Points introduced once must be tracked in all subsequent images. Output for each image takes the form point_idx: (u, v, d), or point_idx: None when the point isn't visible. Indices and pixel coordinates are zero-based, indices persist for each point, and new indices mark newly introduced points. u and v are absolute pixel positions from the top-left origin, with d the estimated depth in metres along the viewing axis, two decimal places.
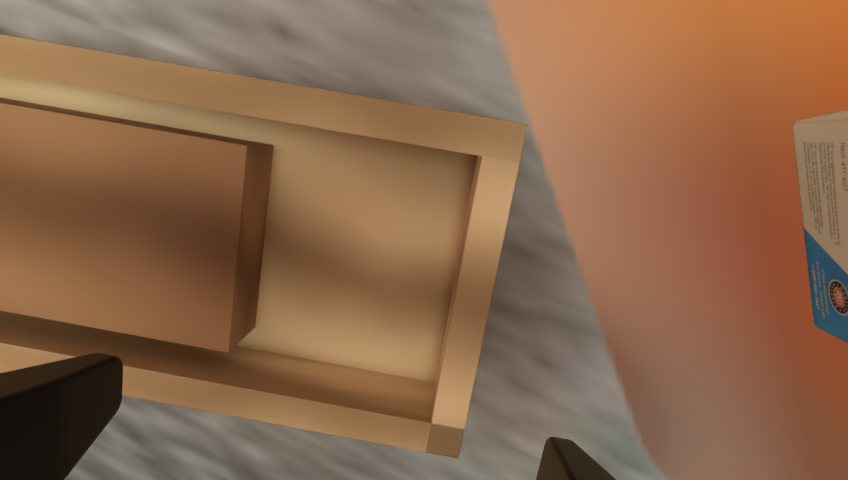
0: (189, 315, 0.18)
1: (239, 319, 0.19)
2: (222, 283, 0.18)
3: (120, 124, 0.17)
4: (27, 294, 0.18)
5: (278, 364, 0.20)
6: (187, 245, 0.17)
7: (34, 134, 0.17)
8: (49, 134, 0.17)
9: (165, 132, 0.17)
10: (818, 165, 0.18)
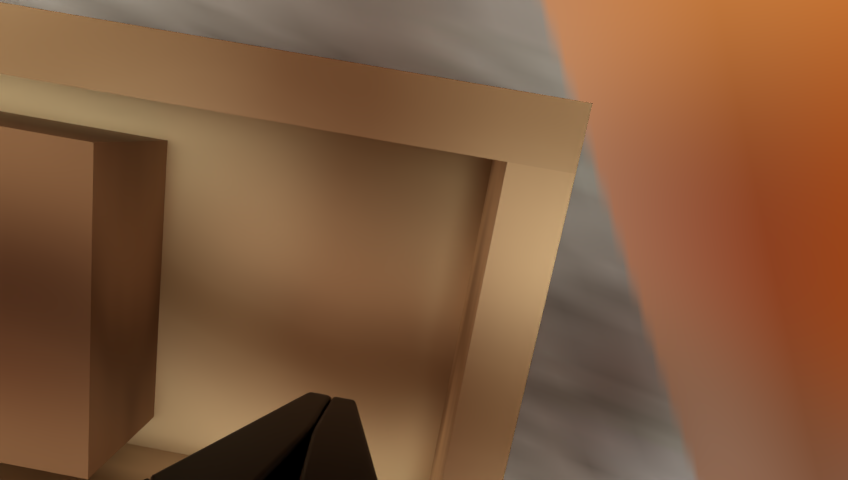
0: (21, 421, 0.11)
1: (111, 420, 0.12)
2: (69, 372, 0.11)
3: None
4: None
5: None
6: (7, 310, 0.10)
7: None
8: None
9: None
10: None
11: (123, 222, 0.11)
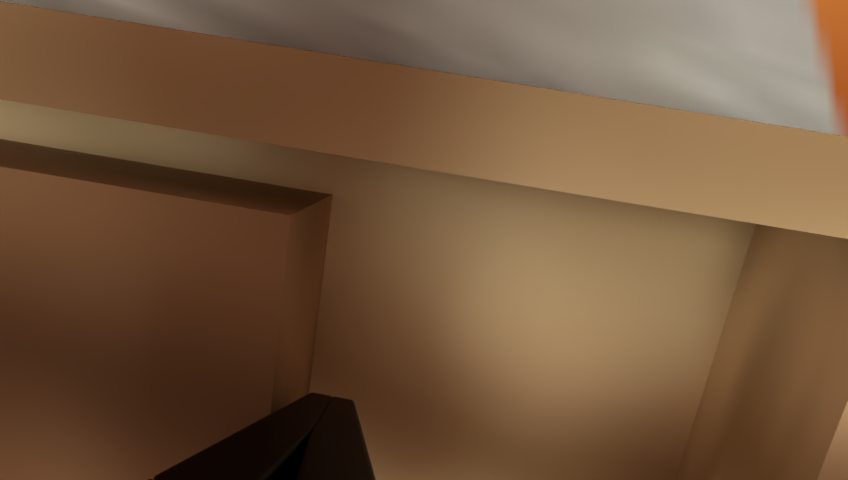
0: None
1: None
2: None
3: None
4: None
5: None
6: (157, 427, 0.08)
7: None
8: None
9: (99, 184, 0.07)
10: None
11: (298, 307, 0.08)
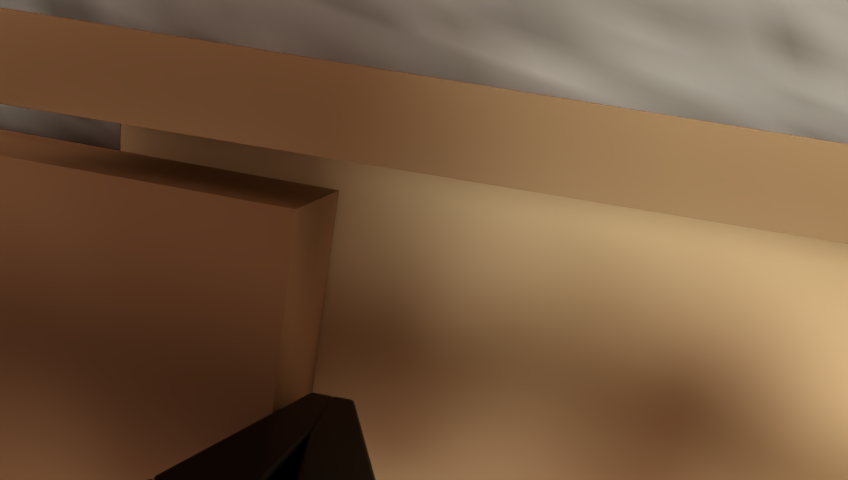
0: None
1: None
2: None
3: (3, 157, 0.07)
4: None
5: None
6: (159, 420, 0.08)
7: None
8: None
9: (106, 176, 0.07)
10: None
11: (302, 302, 0.08)
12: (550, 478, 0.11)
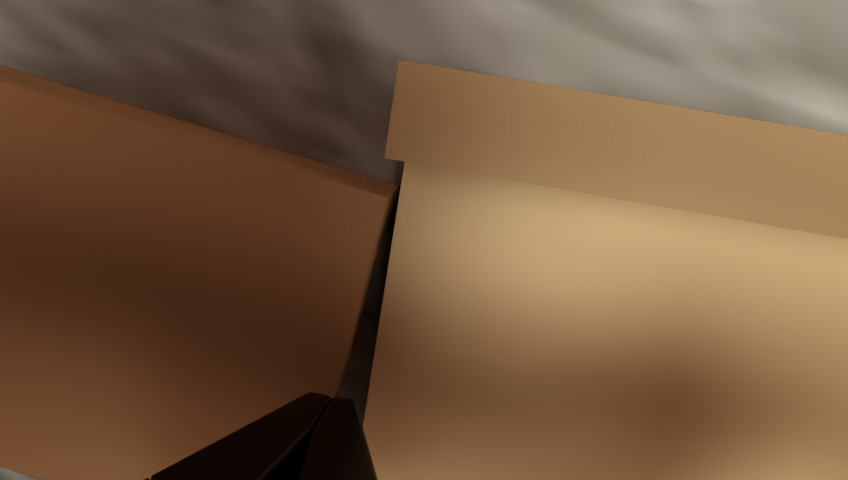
0: None
1: None
2: None
3: (138, 124, 0.08)
4: None
5: None
6: (239, 364, 0.09)
7: None
8: None
9: (227, 151, 0.08)
10: None
11: (369, 276, 0.10)
12: None
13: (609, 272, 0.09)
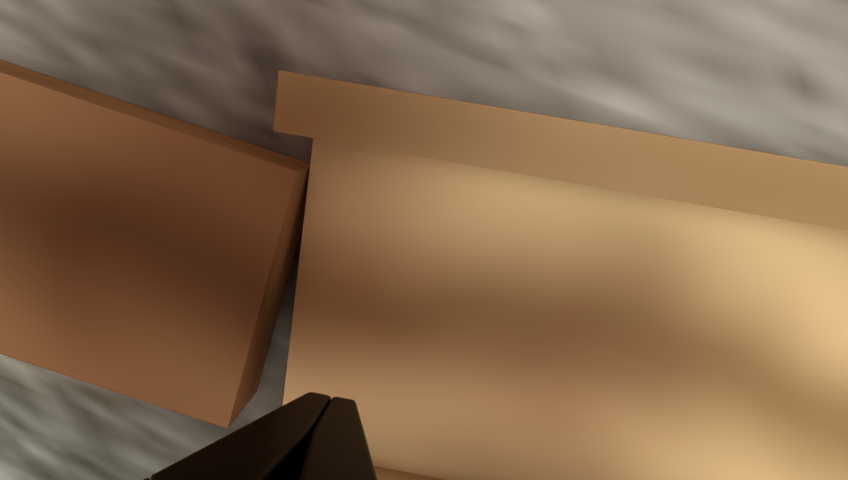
0: (184, 375, 0.14)
1: (247, 384, 0.14)
2: (234, 342, 0.13)
3: (127, 115, 0.12)
4: None
5: None
6: (195, 287, 0.13)
7: (7, 110, 0.12)
8: (27, 113, 0.12)
9: (187, 136, 0.12)
10: None
11: (291, 230, 0.14)
12: (618, 408, 0.14)
13: (460, 219, 0.13)
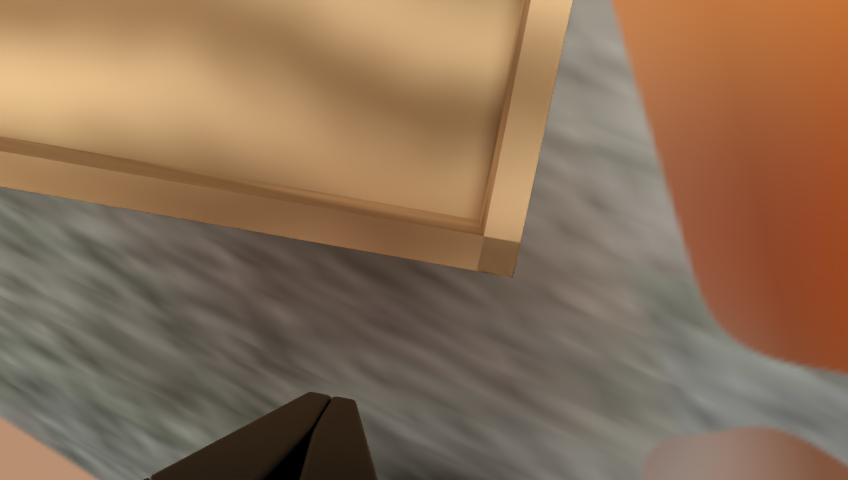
0: None
1: None
2: None
3: None
4: None
5: (310, 194, 0.18)
6: None
7: None
8: None
9: None
10: None
11: None
12: (204, 83, 0.18)
13: None
